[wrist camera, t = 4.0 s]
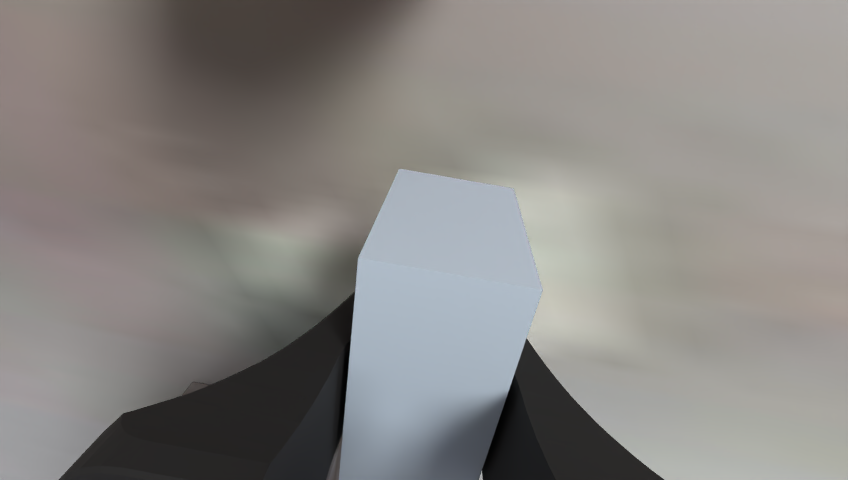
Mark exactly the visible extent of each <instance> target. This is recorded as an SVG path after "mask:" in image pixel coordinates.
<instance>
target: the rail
mask: <svg viewBox="0 0 848 480" xmlns="http://www.w3.org/2000/svg"><path fill="white" fill-rule="evenodd" d="M542 291H543V289H542V286H541V282H540V278H539V275H538V271H537V268H536V264H535V261H534V257H533V254H532V250H531V247H530V243H529V240H528V236H527V233H526V229H525V226H524V222H523V219H522V215H521V212H520V208H519V205H518V201H517V198H516V194H515V191H514V188H508V187H503V186H497V185H491V184H485V183H479V182H474V181H468V180H462V179H456V178H450V177H444V176H439V175H433V174H427V173H421V172H415V171H410V170H404V169H399V171H398V173H397V175H396V177H395V179H394V181H393V184H392V186H391V188H390V190H389V192H388V194H387V197H386V199H385V201H384V203H383V205H382V207H381V209H380V212H379V214H378V216H377V218H376V220H375V222H374V225H373V227H372V229H371V231H370V233H369V235H368V238H367V240H366V242H365V244H364V246H363V248H362V251H361V253H360V255H359V257H358V266H357V277H356V288H355V300H354V311H353V323H352V334H351V346H350V357H349V368H348V380H347V391H346V403H345V414H344V426H343V437H342V448H341V460H340V471H339V480H479V477H480V474H481V471H482V468H483V465H484V462H485V459H486V456H487V454H488V451H489V448H490V445H491V442H492V439H493V436H494V433H495V430H496V427H497V424H498V421H499V418H500V415H501V412H502V409H503V406H504V403H505V400H506V397H507V394H508V391H509V388H510V385H511V383H512V380H513V377H514V374H515V371H516V368H517V365H518V362H519V359H520V356H521V353H522V350H523V347H524V344H525V341H526V338H527V335H528V332H529V329H530V326H531V323H532V320H533V317H534V314H535V312H536V309H537V306H538V303H539V300H540V297H541V294H542Z"/></svg>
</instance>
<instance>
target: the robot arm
mask: <svg viewBox="0 0 848 480" xmlns="http://www.w3.org/2000/svg"><path fill="white" fill-rule="evenodd" d="M354 300H355V292H354V293H353V294H352V295H350V296H349V297H348V298H347V299H346V300H345V301H344V302H343V303H342V304H341V305H340V306H339V307H337V308H336V309H335V310H334V311H333V312H332V313H331V314H329V315H328V316H327V317H326V318H324V319H323V320H322V321H321V322H320V323H318V324H317V325H316V326H315V327H313V328H312V329H311V330H309V331H308V332H306V333H305V334H304V335H302V336H301V337H299V338H298V339H297V340H295V341H294V342H292V343H291V344H289V345H288V346H286V347H285V348H283V349H282V350H280V351H278V352H277V353H275V354H273V355H272V356H270V357H268V358H267V359H265V360H263V361H261V362H259V363H257V364H255V365H253V366H251V367H249V368H247V369H245V370H243V371H241V372H239V373H237V374H235V375H233V376H230V377H228V378H226V379H224V380H221V381H219V382H217V383H214V384H212V385H209V386H207V387H204V388H201V389H199V390H196V391H193V392H191V393H188V394H185V395H182V396H180V397H177V398H174V399H170V400H167V401H164V402H161V403H157V404H154V405H151V406H147V407H144V408H141V409H138V410H134V411H131V412H127V413H123V414H122V415H121V416H120V417H119V418H118V419H117V420H116V421H115V422H114V423H113V424H112V425H111V426H109V427H108V428H107V429H106V430H105V431H104V432H103V433H102V434H101V435H100V436H99V437H98V438H97V439H96V441H95V442H94V443H93V444H92V445H91V446H90V447H89V448H88V449H87V450H86V451H85V452H84V453H83V454H82V455H81V457H80V458H79V459H78V460H77V461H76V462H75V463H74V464H73V465H72V466H71V467H70V468H69V469H68V470H67V471H66V473H65V474H64V475H63V476H62V477H61V478H60V479H59V480H326V479H327V475H328V472H329V469H330V466H331V463H332V460H333V457H334V454H335V451H336V449H337V446H338V444H339V441H340V439H341V436H342V434H343V426H344V414H345V403H346V391H347V380H348V368H349V357H350V346H351V334H352V323H353V311H354ZM482 475H483V480H664V479H663V478H661V477H660V476H659V475H657V474H656V473H655V472H653V471H652V470H651V469H649V468H648V467H647V466H646V465H644V464H643V463H642V462H641V461H639V460H638V459H637V458H636V457H634V456H633V455H632V454H631V453H630V452H628V451H627V450H626V449H625V448H624V447H623V446H622V445H620V444H619V443H618V442H617V441H616V440H615V439H614V438H612V437H611V436H610V435H609V434H608V433H607V432H606V431H605V430H604V429H603V428H602V427H600V426H599V425H598V424H597V423H596V422H595V421H594V420H593V419H592V418H591V417H590V416H589V415H588V414H587V412H586V411H585V410H584V409H583V408H582V407H581V406H580V405H579V404H578V403H577V402H576V401H575V400H574V399H573V398H572V397H571V396H570V394H569V393H568V392H567V391H566V390H565V388H564V387H563V386H562V385H561V384H560V383H559V381H558V380H557V379H556V378H555V376H554V375H553V374H552V373H551V371H550V370H549V369H548V368H547V366H546V365H545V364H544V362H543V361H542V359H541V358H540V357H539V355H538V354H537V353H536V351H535V350H534V348H533V347H532V345H531V344H530V343H529V341H528V340H527V338H526V341H525V344H524V347H523V350H522V353H521V356H520V359H519V362H518V365H517V368H516V371H515V374H514V377H513V380H512V383H511V385H510V388H509V391H508V394H507V397H506V400H505V403H504V406H503V409H502V412H501V415H500V418H499V421H498V424H497V427H496V430H495V433H494V436H493V439H492V442H491V445H490V448H489V451H488V454H487V456H486V459H485V462H484V465H483V468H482Z"/></svg>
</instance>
